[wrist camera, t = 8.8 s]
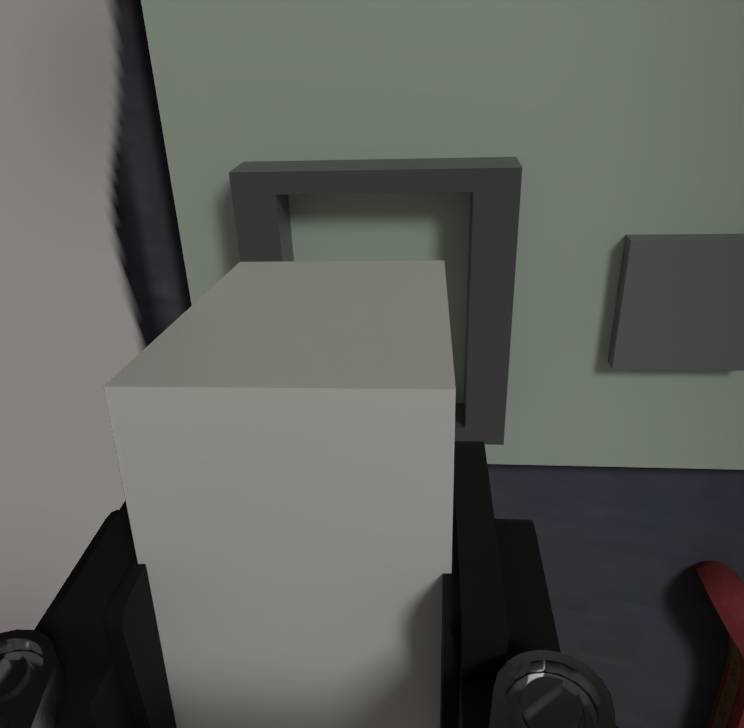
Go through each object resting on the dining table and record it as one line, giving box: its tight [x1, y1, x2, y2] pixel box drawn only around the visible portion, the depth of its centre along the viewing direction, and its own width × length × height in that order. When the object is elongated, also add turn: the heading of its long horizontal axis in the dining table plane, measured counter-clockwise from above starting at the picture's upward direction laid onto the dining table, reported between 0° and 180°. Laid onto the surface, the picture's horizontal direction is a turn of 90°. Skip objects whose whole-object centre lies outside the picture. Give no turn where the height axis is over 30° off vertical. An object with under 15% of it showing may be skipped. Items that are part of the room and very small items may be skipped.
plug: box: [104, 260, 456, 728], centre depth 12 cm, size 4×7×6 cm, turn 2°
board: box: [141, 0, 744, 470], centre depth 18 cm, size 20×22×2 cm
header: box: [229, 157, 522, 445], centre depth 20 cm, size 8×9×2 cm
